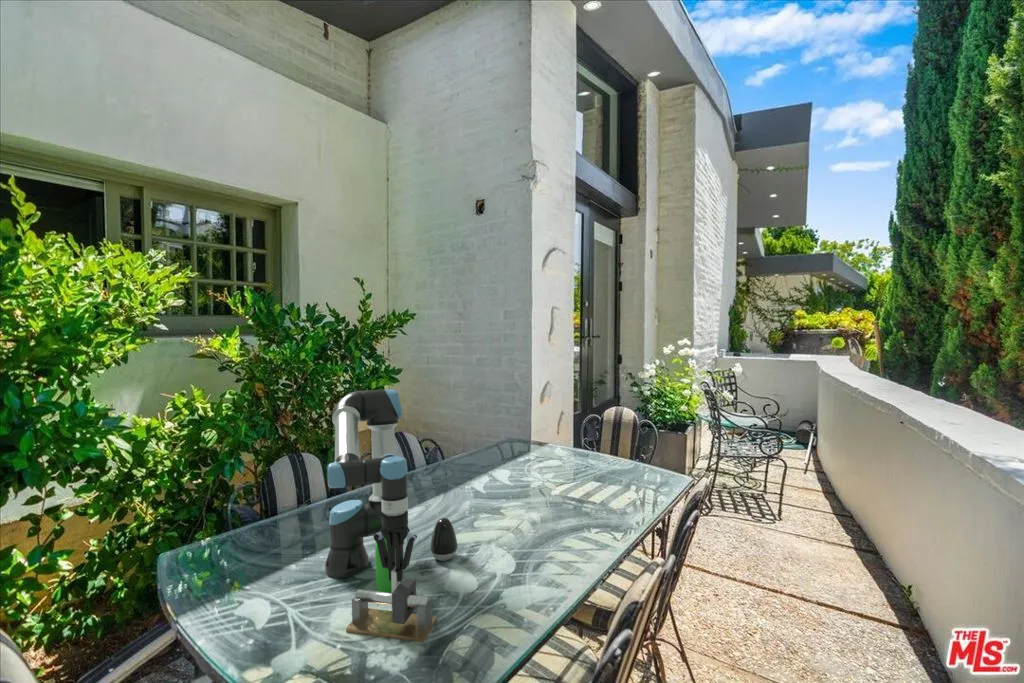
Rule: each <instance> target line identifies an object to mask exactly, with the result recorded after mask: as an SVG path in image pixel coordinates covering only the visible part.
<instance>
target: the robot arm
mask: <svg viewBox="0 0 1024 683" xmlns="http://www.w3.org/2000/svg"><path fill="white" fill-rule="evenodd" d="M401 404H402V403H401V400H400V396H399V392H398V391H397V390H396V389H390V388H389V389H386V388H383V389H372V390H357V391H352V392H349V393H347V394H346V395H345V396H343V397H342V398H340V400H339V401H338V402H337V403H336V405H335V406H334V407H333V410H332V414H331V418H332V424H333V425H334V462H331V463H329V464H327V486H328V487H329V489H339V488H341V489H344V488H349V487H358V486H366V485H372V494H371V495H370V496H369V497H368V503H364V502H363V501H362V500H360V499H350V500H345V501H343V502H340V503H338V504H336V505H335V506H333V507H332V508H331V510H330V511H329V521H328V525H329V551H328V554H327V558H326V561H325V564H324V572H325V574H326V575H327V576H328V577H331V578H339V579H340V578H342V579H343V578H347V577H353V576H356V575H357V574H360V573H362V572H364V571H365V570H366V569H367V568H368V567H369V563H370V561H369V560H370V559H369V554H368V552H367V550H366V546H365V544H364V543H365V542H364V538H366V537H367V538H368V537H373V540H374V541H375V544H376V543H377V546H378V551H379V555H380V559H381V563H382V567H383V568H387V569H388V570H389V581H391V584H392V593H393V592H394V590H395V589H396V588H397V587H398V586H399V584H400V581H401V580H402V579H404V570H406V569H407V568H408V567H409V566H410V563H411V562H410V561H411V558H412V557H411V556H412V553H413V548H414V544H415V541H416V540H417V539H418V535H417V534H412V533H411V532H410V528H409V511H408V509H409V501H408V500H409V499H408V498H409V497H408V496H409V495H408V472H409V468H408V461H407V459H406V458H405V457H403V456H401V455H400V456H399V455H396V447H395V446H396V445H395V442H396V441H395V428H396V427H397V425H398V424H399V420H400V419H402V417H403V414H402V413H403V412H402V411H403V410H402V405H401ZM360 422H366V427H367V428H368V429H370V431H371V433H370V434H371V439H370V440H371V441H370V442H371V458H367V459H366V458H365V459H364V458H363V459H361V456H360V455H361V454H360V441H359V423H360ZM381 520H382V521H381ZM384 538H385V540H386V541H387V548H388V552H387V548H386V544H385V540H384ZM405 540H406V542H407V544H406V545H405V551H404V544H405ZM395 548H396V563H395ZM395 565H396V567H395Z"/></svg>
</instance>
